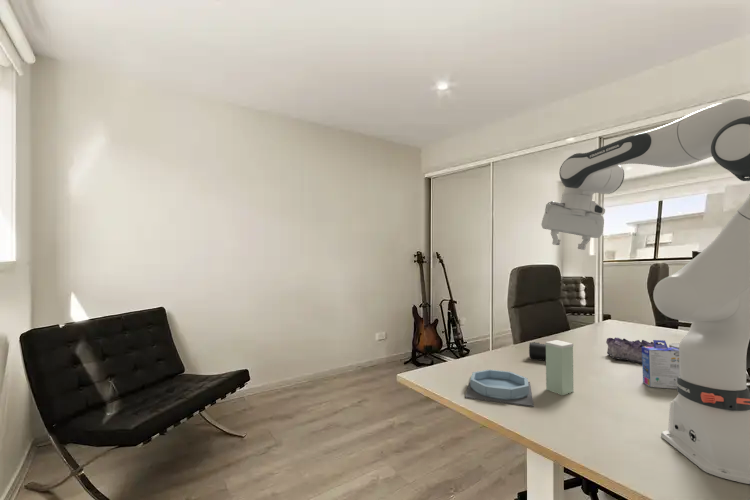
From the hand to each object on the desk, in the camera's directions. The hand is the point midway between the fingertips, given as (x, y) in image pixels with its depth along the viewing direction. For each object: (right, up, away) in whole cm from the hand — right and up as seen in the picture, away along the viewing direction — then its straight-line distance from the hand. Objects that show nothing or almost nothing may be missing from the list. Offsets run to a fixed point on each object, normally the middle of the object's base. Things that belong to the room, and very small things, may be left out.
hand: (568, 247), depth 117 cm
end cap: (+5, -46, +28) cm, 54 cm away
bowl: (-24, -46, -4) cm, 52 cm away
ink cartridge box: (+30, -46, -1) cm, 55 cm away
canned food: (+44, -46, +7) cm, 64 cm away
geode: (+42, -46, +27) cm, 68 cm away
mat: (-24, -46, -4) cm, 52 cm away
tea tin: (-5, -46, -5) cm, 46 cm away
